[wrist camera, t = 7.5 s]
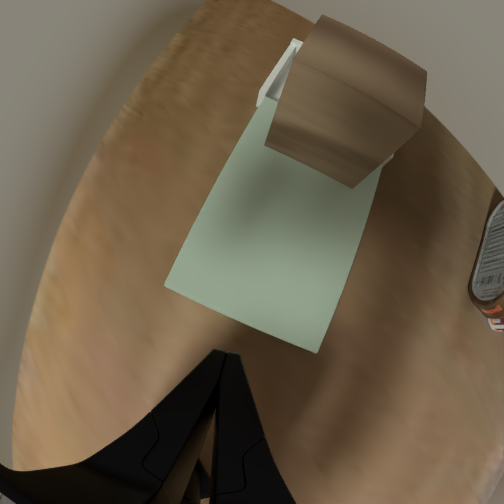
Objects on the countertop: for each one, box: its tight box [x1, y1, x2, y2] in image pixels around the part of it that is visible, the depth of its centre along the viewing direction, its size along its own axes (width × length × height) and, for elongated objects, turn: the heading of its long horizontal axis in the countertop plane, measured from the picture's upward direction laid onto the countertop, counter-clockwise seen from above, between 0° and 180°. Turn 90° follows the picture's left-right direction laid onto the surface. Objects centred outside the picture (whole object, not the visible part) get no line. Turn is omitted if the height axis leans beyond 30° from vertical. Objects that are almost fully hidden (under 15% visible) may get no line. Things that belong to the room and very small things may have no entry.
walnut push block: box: [264, 15, 427, 189], centre depth 19 cm, size 6×8×10 cm
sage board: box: [164, 97, 383, 354], centre depth 24 cm, size 18×12×2 cm, turn 156°
